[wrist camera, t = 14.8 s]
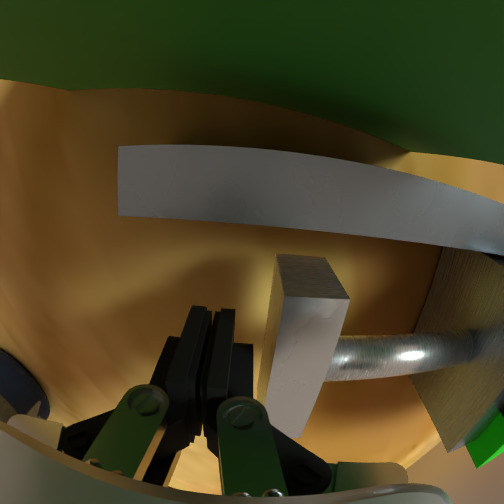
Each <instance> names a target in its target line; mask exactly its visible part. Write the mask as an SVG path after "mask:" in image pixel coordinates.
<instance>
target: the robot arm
mask: <svg viewBox="0 0 504 504" xmlns="http://www.w3.org/2000/svg"><path fill="white" fill-rule="evenodd" d="M234 327H235V309H226V308H221V311H220V312H217V311H215V315H214V319H213V324H212V311H207V307H204V306H192V307H191V309H190V312H189V315H188V318H187V320H186V323H185V326H184V329H183V331H182V334H181V337H174V336H169V337H168V339H167V341H166V343H165V346H164V348H163V350H162V353H161V355H160V358H159V360H158V363H157V365H156V368H155V370H154V373H153V376H152V378H151V381H150V383H149V384H144V385H138V386H135V387H133V388H131V389H129V390H128V391H127V392H126V393H125V395H124V396H123V398H122V399H121V401H120V402H119V404H118V405H117V407H116V408H115V409H113V410H111V411H108V412H106V413H103V414H100V415H98V416H95V417H92V418H89V419H87V420H84V421H81V422H78V423H75V424H72V425H70V426H68V427H65V426H64V425H63V424H62V423H57V422H52V421H47V420H43V419H39V418H34V417H31V416H27V415H23V414H17V415H14V416H12V417H11V418H10V419H9V421H8V422H7V424H6V423H4V422H2V421H0V504H454V503H453V501H452V500H451V498H450V497H449V496H448V495H447V493H446V492H444V491H443V490H442V489H440V488H438V487H435V486H432V485H427V484H418V483H408V475H407V472H406V470H405V469H404V468H403V466H401V465H399V464H397V463H391V462H387V463H357V462H337V463H336V464H333V463H326V462H325V461H324V460H323V459H321V458H319V457H318V456H316V455H315V454H313V453H312V452H310V451H308V450H307V449H305V448H304V447H302V446H301V445H299V444H298V443H297V442H295V441H294V440H292V439H291V438H289V437H288V436H286V435H285V434H284V433H282V432H281V431H280V430H278V429H277V428H275V427H274V426H273V425H271V424H270V421H269V417H268V413H267V411H266V408H265V407H264V406H263V405H262V404H261V403H260V402H259V401H257V400H255V399H253V344H243V343H234ZM202 424H203V431H204V437H207V447H208V449H209V450H210V451H211V452H212V453H213V454H214V455H215V456H216V457H217V458H218V463H219V473H220V482H221V491H222V495H214V494H205V493H197V492H190V491H184V490H178V489H173V488H169V487H168V484H169V482H170V480H171V477H172V475H173V472H174V470H175V467H176V465H177V462H178V460H179V457H180V455H181V450H182V449H184V448H186V447H188V446H189V444H190V442H191V443H194V439H195V436H200V435H201V430H202Z"/></svg>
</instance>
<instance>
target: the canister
mask: <svg viewBox="0 0 504 504" xmlns="http://www.w3.org/2000/svg"><path fill="white" fill-rule="evenodd" d="M17 414H23V415H27V416H31V417H34V418H39V419H43V420H47V418H48V416H49V414H50V406H49V402H48V400H47V398H46V396H45V394H44V392H43V391H42V389H41V388H40V387H39V385H38V384H37V383H36V381H35V380H34V379H33V378H32V377H31V376H30V374H29V373H28V372H27V371H26V370H25V369H24V368H23V367H22V366H21V365H20V364H19V363H18V362H17V361H15V360H14V359H13V358H12V357H10V356H9V355H8V354H6V353H5V352H3V351H1V350H0V421H2V422H4V423H6V424H7V422H8V421H9V419H10V418H11V417H12V416H14V415H17Z"/></svg>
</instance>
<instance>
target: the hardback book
mask: <svg viewBox="0 0 504 504" xmlns="http://www.w3.org/2000/svg"><path fill="white" fill-rule="evenodd" d="M0 79H3V80H11V81H19V82H26V83H32V84H38V85H44V86H49V87H55V88H60V89H64V90H82V89H101V88H143V89H163V90H177V91H188V92H197V93H205V94H213V95H220V96H226V97H232V98H238V99H244V100H249V101H254V102H259V103H264V104H269V105H273V106H277V107H282V108H286V109H290V110H294V111H298V112H301V113H305V114H309V115H312V116H316V117H319V118H322V119H326V120H329V121H332V122H335V123H338V124H341V125H344V126H347V127H350V128H353V129H356V130H359V131H361V132H364V133H367V134H369V135H372V136H375V137H377V138H380V139H382V140H385V141H387V142H389V143H392V144H394V145H396V146H399V147H401V148H403V149H406V150H408V151H410V152H420V153H430V154H439V155H448V156H456V157H463V158H469V159H476V160H482V161H487V162H493V163H498V164H503V165H504V0H0Z"/></svg>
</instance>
